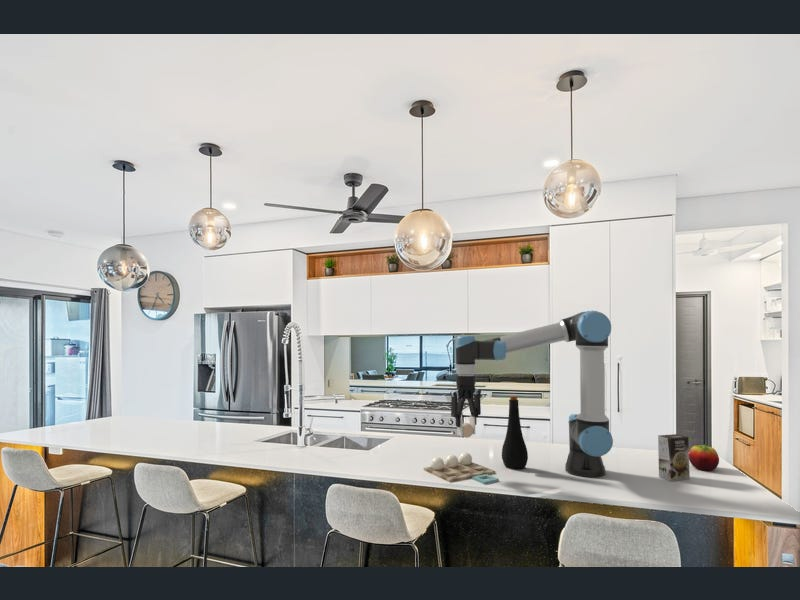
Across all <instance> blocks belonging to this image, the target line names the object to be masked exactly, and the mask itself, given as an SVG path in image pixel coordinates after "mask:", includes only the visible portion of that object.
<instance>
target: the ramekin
mask: <svg viewBox="0 0 800 600" xmlns="http://www.w3.org/2000/svg"><path fill="white" fill-rule="evenodd" d="M471 479H472V480H473V481H475V482H477V483H480V484H482V485H488V484H493V483H497V482H498V483H499V482H500V481H499V478H497V477H495V476H492V475H491V474H489V475H488V474H485V475H479V476H474V477H472V478H471Z"/></svg>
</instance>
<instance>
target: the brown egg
mask: <svg viewBox="0 0 800 600" xmlns="http://www.w3.org/2000/svg"><path fill="white" fill-rule="evenodd" d="M473 435H474V434H473V427H472V426H471V425H470V422H469V423H468V422H463V436H462V437H463V438H466V439H467V438H470V437H471V436H473Z"/></svg>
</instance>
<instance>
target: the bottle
mask: <svg viewBox="0 0 800 600" xmlns="http://www.w3.org/2000/svg"><path fill="white" fill-rule="evenodd" d="M509 397H510V398H509V399H508V401H509V404H508V405H509V406H508V420H507V429H506V434H505V439H504V442H503V445H502V448H501V459H502V463H503V465H504V467H505V468H506V469H510V470H524V469H525V467H526V466H527V464H528V459H529V454H528V448H527V446H526V445H527V444H526V442H525V439H524V436H523V432H522V427H521V418H520V409H519V399H518V396H517V395H509Z"/></svg>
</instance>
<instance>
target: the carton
mask: <svg viewBox="0 0 800 600" xmlns="http://www.w3.org/2000/svg"><path fill="white" fill-rule="evenodd" d="M423 471H425V472H427V473H429V474H431V475H433V476H436V477H437V478H440V479H442V480H443V481H446V482H448V483H452V482H458V481H463V480H468V479H472V477H474V476H479V475H485V474H488V475H495V474H496V471H495V470H494V469H491V468H489V467H486V466H483V465H481V464H478V463H475V462H473V461H472V463H471V464H470V465H466V466H464V465H461V464H460V462H459V461H458V466H457V467H455V468H449V467H447V466H446V464H445V463H444V468H443V469H442V470H438V471H435V470H433V469H432V467H431V466H427V467H423Z"/></svg>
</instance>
